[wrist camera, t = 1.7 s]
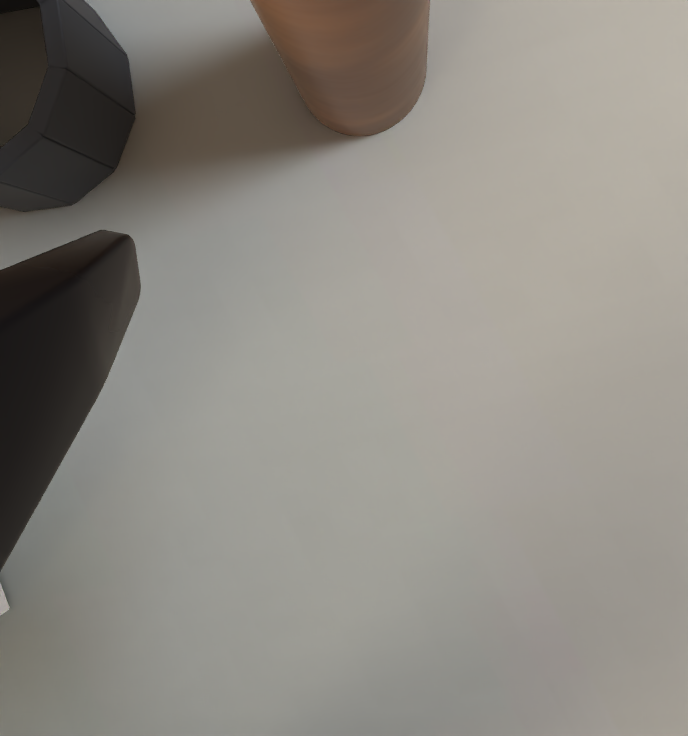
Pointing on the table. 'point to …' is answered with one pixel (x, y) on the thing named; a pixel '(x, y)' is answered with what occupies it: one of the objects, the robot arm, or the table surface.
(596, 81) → the table surface
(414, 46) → the peg
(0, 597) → the white ridged block
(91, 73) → the tube
